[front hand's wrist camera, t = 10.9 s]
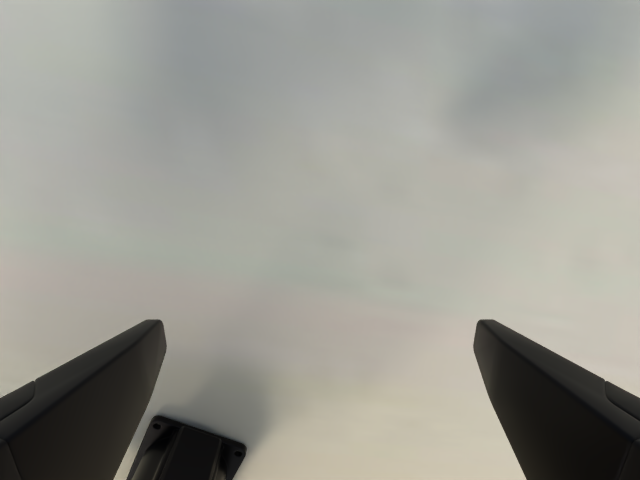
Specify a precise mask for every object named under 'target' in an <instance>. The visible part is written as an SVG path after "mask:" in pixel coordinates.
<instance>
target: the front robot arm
mask: <svg viewBox="0 0 640 480" xmlns="http://www.w3.org/2000/svg"><path fill="white" fill-rule="evenodd" d="M166 347H167V345H166V338H165V332H164V326H163V323H162V321H161V320H145V321H143V322H141V323H139V324H138V325H136V326H134V327H132V328H130V329H128V330H126V331H125V332H123V333H121V334H119V335H117V336H115V337H113V338H112V339H110V340H108V341H106V342H104V343H102V344H100V345H99V346H97V347H95V348H93V349H91V350H89V351H87V352H86V353H84V354H82V355H80V356H78V357H76V358H74V359H73V360H71V361H69V362H67V363H65V364H63V365H61V366H60V367H58V368H56V369H54V370H52V371H50V372H49V373H47V374H45V375H43V376H41V377H39V378H37V379H36V380H35V381H32V382H30V383H28V384H26V385H24V386H22V387H21V388H19V389H17V390H15V391H13V392H11V393H9V394H7V395H5V396H3V397H1V398H0V480H113V479H114V477H115V475H116V473H117V470H118V468H119V466H120V464H121V462H122V460H123V457H124V455H125V453H126V451H127V449H128V447H129V444H130V442H131V440H132V438H133V436H134V434H135V431H136V429H137V427H138V425H139V423H140V421H141V418H142V416H143V414H144V412H145V410H146V408H147V405H148V403H149V401H150V398H151V396H152V393H153V390H154V387H155V384H156V381H157V378H158V375H159V372H160V369H161V365H162V362H163V359H164V356H165V353H166ZM473 348H474V353H475V356H476V359H477V362H478V365H479V369H480V372H481V375H482V378H483V381H484V384H485V387H486V390H487V393H488V396H489V398H490V401H491V403H492V405H493V408H494V410H495V412H496V414H497V416H498V419H499V421H500V423H501V425H502V427H503V429H504V431H505V434H506V436H507V438H508V440H509V442H510V444H511V447H512V449H513V451H514V453H515V455H516V457H517V460H518V462H519V464H520V466H521V468H522V470H523V473H524V475H525V477H526V479H527V480H640V398H639V397H637V396H635V395H633V394H631V393H629V392H627V391H625V390H623V389H621V388H619V387H618V386H616V385H614V384H612V383H610V382H608V381H605V380H604V379H603V378H601V377H599V376H597V375H595V374H593V373H592V372H590V371H588V370H586V369H584V368H582V367H580V366H579V365H577V364H575V363H573V362H571V361H569V360H567V359H566V358H564V357H562V356H560V355H558V354H556V353H554V352H553V351H551V350H549V349H547V348H545V347H543V346H541V345H540V344H538V343H536V342H534V341H532V340H530V339H528V338H527V337H525V336H523V335H521V334H519V333H517V332H515V331H514V330H512V329H510V328H508V327H506V326H504V325H502V324H501V323H499V322H497V321H495V320H479V321H478V323H477V326H476V332H475V338H474V345H473ZM159 424H160V425H159ZM246 450H247V448H246V446H245V445H244V444H242V443H239V442H236V441H233V440H230V439H227V438H224V437H221V436H218V435H215V434H212V433H209V432H206V431H204V430H201V429H198V428H195V427H192V426H189V425H186V424H183V423H180V422H177V421H174V420H171V419H168V418H166V417H163V416H155V417H153V418H152V420H151V422H150V424H149V427H148V429H147V431H146V434H145V436H144V439H143V441H142V443H141V446H140V448H139V451H138V453H137V455H136V458H135V460H134V463H133V465H132V467H131V470H130V472H129V474H128V477H127V479H126V480H232V479H233V477H234V475H235V474H236V472H237V470H238V468H239V466H240V465H241V463H242V461H243V459H244V457H245V455H246Z"/></svg>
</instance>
